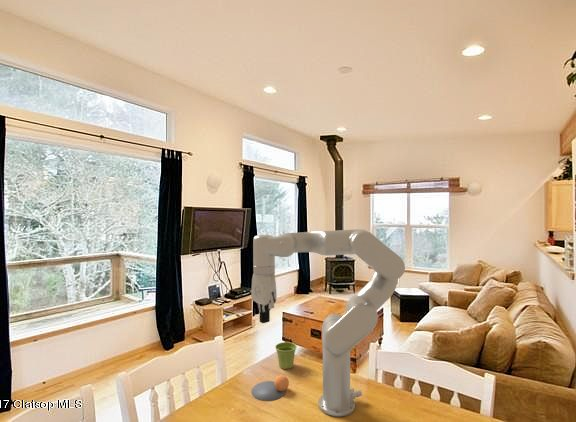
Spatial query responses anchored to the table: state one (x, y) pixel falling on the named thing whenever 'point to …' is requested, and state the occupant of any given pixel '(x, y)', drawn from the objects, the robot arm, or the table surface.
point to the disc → (266, 391)
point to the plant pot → (285, 354)
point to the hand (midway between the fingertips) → (264, 321)
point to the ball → (281, 383)
